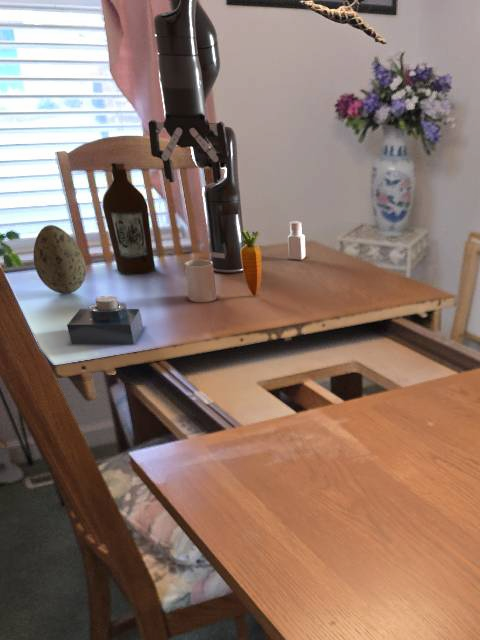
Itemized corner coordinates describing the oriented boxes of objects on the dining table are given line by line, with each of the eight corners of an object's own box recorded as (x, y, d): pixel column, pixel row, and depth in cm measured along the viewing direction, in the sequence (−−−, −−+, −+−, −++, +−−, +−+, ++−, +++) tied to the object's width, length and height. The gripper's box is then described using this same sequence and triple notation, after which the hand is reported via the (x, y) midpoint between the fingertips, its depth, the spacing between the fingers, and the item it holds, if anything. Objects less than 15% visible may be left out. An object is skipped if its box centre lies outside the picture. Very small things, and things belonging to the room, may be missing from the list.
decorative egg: (40, 301, 162) (22, 231, 153) (43, 287, 170) (26, 220, 161) (90, 298, 165) (75, 229, 156) (91, 285, 173) (77, 219, 164)
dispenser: (71, 344, 140) (64, 314, 137) (84, 327, 148) (77, 299, 145) (133, 344, 142) (128, 314, 138) (143, 327, 150) (137, 299, 146)
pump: (95, 311, 140) (92, 301, 139) (99, 305, 143) (97, 295, 142) (116, 311, 141) (113, 301, 139) (120, 305, 144) (118, 295, 143)
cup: (190, 294, 170) (186, 259, 165) (217, 294, 171) (213, 259, 166) (187, 302, 165) (182, 266, 160) (215, 302, 166) (211, 266, 161)
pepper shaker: (288, 259, 200) (286, 223, 194) (292, 256, 203) (290, 220, 197) (302, 260, 199) (300, 224, 194) (306, 257, 202) (304, 221, 197)
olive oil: (114, 265, 188) (94, 160, 174) (156, 263, 191) (139, 159, 177) (115, 276, 180) (94, 166, 166) (158, 273, 183) (141, 166, 169)
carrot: (267, 293, 173) (262, 227, 164) (261, 299, 169) (256, 232, 160) (247, 292, 173) (241, 226, 164) (241, 298, 169) (234, 231, 160)
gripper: (223, 84, 133) (232, 179, 143) (145, 81, 132) (160, 178, 141) (219, 87, 127) (229, 186, 137) (137, 84, 126) (153, 185, 135)
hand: (194, 182), depth 139 cm, fingers open, 8 cm apart
